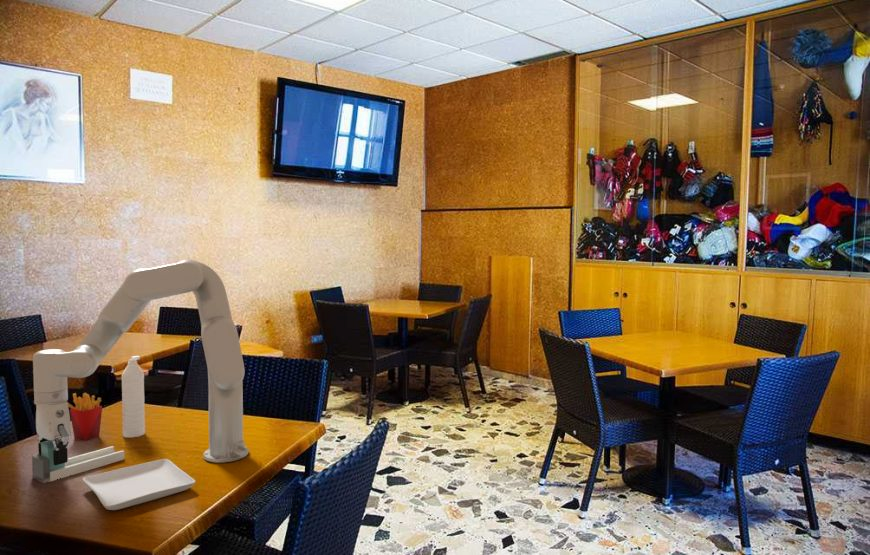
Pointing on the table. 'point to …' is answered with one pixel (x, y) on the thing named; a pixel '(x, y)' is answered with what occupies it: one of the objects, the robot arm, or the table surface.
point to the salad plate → (138, 483)
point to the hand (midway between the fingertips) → (53, 459)
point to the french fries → (86, 417)
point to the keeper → (50, 454)
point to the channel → (74, 464)
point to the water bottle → (133, 399)
